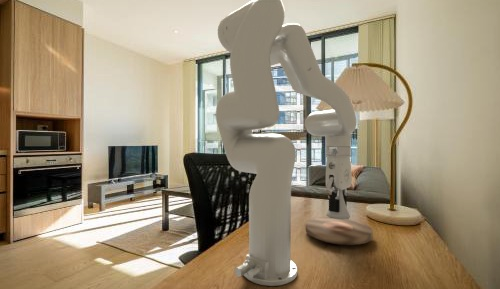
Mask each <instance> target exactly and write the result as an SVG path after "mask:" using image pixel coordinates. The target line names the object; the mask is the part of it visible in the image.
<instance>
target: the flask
mask: <svg viewBox="0 0 500 289" xmlns="http://www.w3.org/2000/svg"><path fill="white" fill-rule="evenodd" d="M333 188H334V189H337V188H336V187H333ZM334 192H335V194H336V191H334ZM338 199H340V212H332V211H329V208H328V209H327V211H326V212H327V213H326V216H325V217H329V218H333V219H339V220H341V219H350V218H351V215H350V213H349V210H348V207H346V204H345V201H344V198H343V192H342V190H339V197H338Z"/></svg>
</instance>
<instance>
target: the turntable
mask: <svg viewBox="0 0 500 289" xmlns="http://www.w3.org/2000/svg"><path fill="white" fill-rule="evenodd" d="M304 227H305V228H304V229H305V232H306V233H307V234H308V235H309V236H310V237H312V238H314V239H317V240H320V241H322V242H324V241H325V242H324V243H327V242H330V243H329V244H331V243H335V244H334V245H336V244H345V245H344V246H355V245H362V244H366V243H369V242H371V241H372V240H373V235H374V233H373V228H371V227H370V226H369V225H367V224H365V223H364V222H361V221H357V220H353V219H350V218H349V219H341V220H339V219H333V218H329V217H328V216H321V217H315V218H310V219H308V220H307V221H306V222H305V226H304Z"/></svg>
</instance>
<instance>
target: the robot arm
mask: <svg viewBox="0 0 500 289" xmlns="http://www.w3.org/2000/svg"><path fill="white" fill-rule="evenodd" d="M283 3H284V2H283V1H282V0H251V1H249V2H247V3H246V4H244V5H243V6H241V7H240V8H238V9H236V10H234V11H233V12H230V13H229V14H227V15H226V16H224V17H223V19H221V21H220V22H219V25H218V27H217V36H218V38H217V39H218V41H219V43H220V44H221V45H222V47H223V48H224V49H225V50H226V51H227V52H228V53H230V58H229V68H230V73H231V79H232V84H233V91H230V92H227V93H225V94H224V95H222V96H221V97H220V99H219V100H218V102H217V105H216V110H215V119H216V125H217V127H218V131H219V136H220V138H221V142H222V145H223V150H224V151H225V156H226V158H227V161H228V163H229V164H230V166H231V167H232V168H233V169H234V170H235V171H238V172H240V173H241V172H242V173H247V174H248V173H249V174H254V175H255V174H256V176H255V177H254V180H253V182H252V184H251V186H250V189H249V195H248V254H246V255H245V258H246V259H245V261H244V262H243V263H242V264H240V265H239V266H237V267H235V268H234V274H235V276H236V277H237V278H240V277H242V276H244V277H245V279H247V280H248V281H250V282H251V283H254V284H257V285H261V286H268V287H276V286H277V287H278V286H283V285H286V284H289V283H291V282H293V281H294V280H295V279H296V278H297V276H298V266H297V265H296V263H295V262H294V261H293V260H291V236H292V235H291V232H292V231H291V228H292V226H291V225H292V223H291V216H292V208H291V207H292V204H291V203H292V200H291V199H292V198H291V197H292V180H293V174H294V169H295V168H294V167H295V162H296V158H297V157H296V156H297V154H296V152H297V151H296V147H295V145H294V143H293V141H292V139H290V138H289V137H287V136H286V135H283V134H280V133H257V134H256V133H255V134H253V131H260V130H267V129H270V128H272V127H274V126H275V125H276V124H277V123H278V121H279V119H280V108H279V107H280V106H279V101H278V96H277V91H276V86H275V83H274V77H273V72H272V66H275V65H278V64H279V65H280V66H281V68H282V70H283V72H284V74H285V76H286V78H287V80H288V82H289V85H290V86H291V89H292V90H293V91H294V92H295V93H297V94H300V95H303V96H307V97H309V98H313V99H316V100H319V101H321V102H323V103H326V105H329V106H330V107H331V108H332V109H328V110H327V109H326V110H321V111H313V112H311V113H310V114H308V115H307V116H306V119H305V121H304V128H305V130H306V132H307V133H308V134H310V135H312V136H313V137H325V158H326V162H325V163H326V164H325V165H326V166H325V187H326V188H325V190H326V192H327V194H328V195H327V197H328V209H329V211H332V212H340V199H338V197H339V190H342V192H343V198H344V201H345V204H346V207H347V204H348V203H347V201H348V198H347V195H348V188H350V187H351V186H352V184H353V182H352V165H351V158H352V150H351V149H352V145H351V144H352V134H353V133H354V132H355V130H356V127H357V117H356V112H355V109H354V107H353V103H352V101H351V99H350V96H349V94H348V93H346V91H345V90H344V89H342V87H340V86H339V85H338V84H337V83H335V81H332V80H331V79H330V78H328V77H326V76H324V74H323V73H322V71H321V68H320V65H319V63H318V60H317V58H316V55H315V54H314V50H313V49H312V46H311V43H310V41H309V38H308V36H307V33H306V30H305V29H304V28H303V26H301V25H300V24H299V23H294V22H292V23H286V24H284V23H285V6H284V4H283ZM334 187H336V188H337V189H334ZM334 191H336V194H335V192H334ZM347 208H348V207H347Z"/></svg>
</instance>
